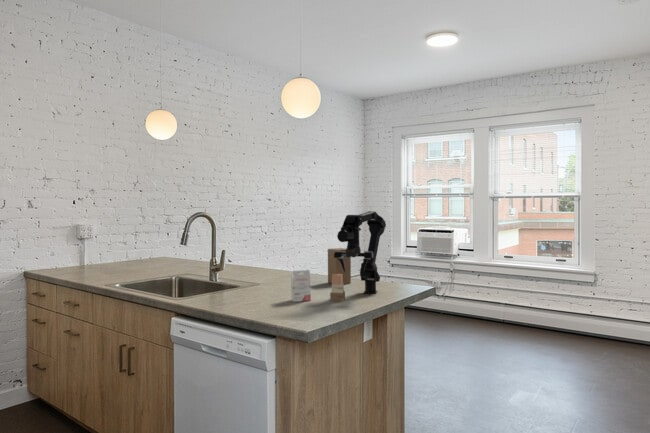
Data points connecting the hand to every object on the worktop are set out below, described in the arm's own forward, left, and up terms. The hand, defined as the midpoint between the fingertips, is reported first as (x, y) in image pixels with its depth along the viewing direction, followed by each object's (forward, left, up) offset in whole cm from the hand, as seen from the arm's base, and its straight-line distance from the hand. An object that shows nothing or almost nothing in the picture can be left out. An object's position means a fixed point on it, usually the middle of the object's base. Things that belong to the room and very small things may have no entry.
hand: (353, 272), depth 227 cm
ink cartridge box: (+10, -24, -13) cm, 29 cm away
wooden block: (-42, -16, -13) cm, 46 cm away
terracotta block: (+6, -7, -5) cm, 11 cm away
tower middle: (+6, -7, -9) cm, 13 cm away
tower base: (+6, -7, -13) cm, 16 cm away
